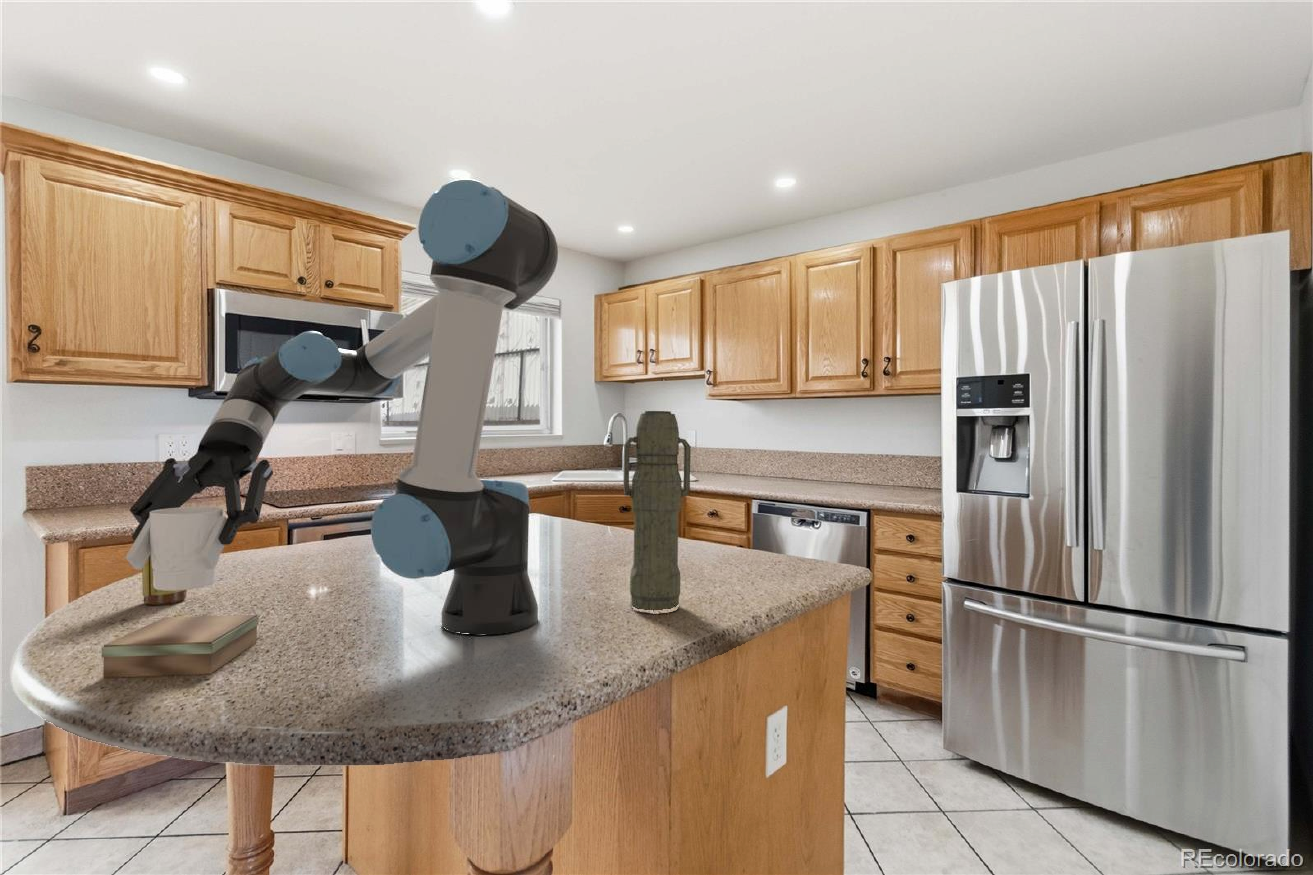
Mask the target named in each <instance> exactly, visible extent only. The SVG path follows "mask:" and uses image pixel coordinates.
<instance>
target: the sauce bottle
mask: <svg viewBox="0 0 1313 875" xmlns="http://www.w3.org/2000/svg"><path fill="white" fill-rule="evenodd" d="M153 570H154V569H153V568H152V560H151V554H150V556H149V557H148V559H147V561H146V563H145V565H144V566H143V568H142V570H141V572H142V573H141V578H142V580H141V581H142V586H141V587H142V596H143V603H144V604H145V605H150V606H161V605H170V604H174V603H178V602H182V601H184V600H185V599H186V598H187V590H179V591H163V590H156V589H155V588H154V586H153Z"/></svg>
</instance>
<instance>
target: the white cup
mask: <svg viewBox="0 0 1313 875" xmlns="http://www.w3.org/2000/svg"><path fill="white" fill-rule="evenodd" d="M149 516H150V546H151V560H152V568H153V569H154V570H153V586H154V588H155V589H156V590H163V591H179V590H194V589H200V588H207V587H209V586H212V585H214V584H216V582H217V581H218V571H219V567H218V563H219V561H220V557H219V558H218V561H217V563H216V565H215V567H214V569H207V568H206V566H205V565H204V563H203V562H202V560H201V559H200V555H201V553H202V551H203V549H204V547H205V545H206V543H207V541H208V538H209V536H210V534H211V532H212V530H213V528H214V526H215V524H216V522H217V521H218V519H219V517H220V516H224V508H222V507H217V506H184V507H182V506H181V507H179V508H167V509H159V510H153V511H150V512H149Z"/></svg>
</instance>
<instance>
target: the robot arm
mask: <svg viewBox="0 0 1313 875" xmlns="http://www.w3.org/2000/svg"><path fill="white" fill-rule="evenodd" d="M417 227H418V228H417V229H418V232H417V233H418V239H419V242H420V243H421V244H422V245H423V246H422V249H423V251H424V253H426V254H427V256H428V257H429V259H430V260H432V261H431V262H432V263H431V268H430V269H431V270H430V274H429V279H430V281H431V283H433V285H434V286H435V289H437V290H438V291H437V292H438V293H437V294H436V295H435V296H432V297H431V298H430V299H429V300H427V301H425V303H423V304H421V305H420V306H418V308H417V307H416V309H414V310H413V311H412V312H410V313H409V314H407V315H406V316H404V317H403V318H402V319H400V320H399V321H397V322H396V323H394V324H393V325H392V326H390V327H388V328H387V329H385V330H384V331H383V332H381V333H380V334H378V335H377V336H376V337H374V338H373V339H371V340H370V341H368V342H367V343H365V344H363V345H362V346H361V347H359V348H358V349H356V350H350V349H344V348H339V347H338V345H337V344H336V343H335V342H334V341H333V340H332V339H331V338H329V337H326V336H324V335H323V333H321V332H319V331H315V330H308V331H304V332H301V333H299V334H298V335H296V336H295V337H292V338H290V339H289V340H287V341H285V342H283V344H282V345H281V346H279V347H278V348H276V349H275V351H273V352H271V354H269V355H268V356H262V357H254V358H252V359H249V361H247V362H246V363H245V365H244V366H243V368H242V369H240V370H239V372H237V374H236V377H235V379H234V381H233V384H232V385H231V388H230V389H229V391H228V392H227V395H226V397H225V398H224V400H223V402H222V404H221V405H220V407H219V408H218V410H217V412H216V413H215V414H214V416H213V418H212V420H211V422H210V423H209V427H208V428H207V429H206V430H205V433H204V434H203V436H202V438H201V440H200V442H199V444H198V447H197V452H196V453H195V454H194V455H193V456H191V457H190V458H189V459H188V460H183V461H177V460H176V459H175V458H173V457H170V458H168V459H166V460H165V462H164V465H163V467H162V470H161V471H160V472H159V474H158V475H156V476H157V477H155V479H153V481H152V482H151V483H150V485H149V486H148V487H147V488H146V490H144V492H143V493H142V494H141V495H140V496H139V497H138V498H137V499H136V501H135V502H134V503H133V504H132V506H131V507H130V508H129V512H130V513H131V515H132V516H133V517H134V518H135V520H136V521H137V522H138V525H137V527H136V529H135V530H134V532H133V534H132V536H131V539H132V540H133V541H134V542H133V544H132V546H131V547H130V549H129V550H128V552H127V554H126V556H125V559H126V560H127V562H128V563H129V564H130V565H131V567H132V568H133V569H134V570H137V571H139V570H140V571H142V568H143V566H144V565H145V563H146V561H147V559H148V557H149V556H150V554H151V546H150V516H149V512H150V511H153V510H159V509H167V508H180V507H182V506H184V504H185V503H186V502H188V501H189V500H190V499H192V497H193V496H195V494H201V492H203V490H205V489H206V488H212V487H218V488H224V496H225V507H226V510H225V511H224V512H225V514H226V515H225V516H224V515H223V516H220V517H219V519H218V521H217V522H216V524H215V526H214V528H213V530H212V532H211V534H210V536H209V538H208V541H207V543H206V545H205V547H204V549H203V551H202V553H201V555H200V559H201V560H202V562H203V563H204V565H205V566H206V568H207V569H214V567H215V565H216V563H217V561H218V558H219V559H220V556H221V554H222V552H223V550H224V548H225V546H226V545H228V546H229V545H232V543H233V542H234V540H235V538H236V535H237V533H238V531H239V528H240V527H242V526H243V525H244V524H247V523H249V524H257V523H258V521H259V520H260V516H261V510H262V506H263V502H264V496H265V492H266V487H267V483H268V482H269V480H270V479H271V477H272V476H273V474H274V471H273V468H272V466H271V464H270V462H269V460H267V459H262V460H260V461H258V462H257V460H258V458H259V456H260V453H261V452H262V450H263V447H264V444H265V442H266V441H267V438H268V437H269V435H270V431H271V430H272V428H273V426H274V425H275V421H276V420H277V418H278V416H279V414H280V411H282V409H283V408H284V407H285V406H287V405H288V404H289V403H291V402H293V401H295V400H296V399H297V398H299V397H300V396H302V395H304V394H305V393H306V392H310V391H311V392H320V393H321V392H322V393H334V394H335V393H336V394H346V395H354V396H355V395H357V396H365V397H371V398H372V397H382V396H383V397H384V396H388V395H390V394H392V393H394V392H395V390H396V389H397V386H398V385H399V384H400V381H401V375H403V374H404V373H405V372H407V371H409V370H410V369H412V368H413V367H415V366H416V365H419V364H420V363H421V362H423V361H424V360H426V359H428V362H427V368H426V376H425V378H424V379H425V380H424V386H423V393H422V400H421V406H420V412H419V416H418V422H417V423H418V424H417V429H416V435H415V436H416V437H415V440H414V441H415V443H414V447H413V448H414V449H413V455H412V459H411V460H412V461H411V464H410V465H409V466H408V467H406V468H404V469H403V470H401V472H399V473H398V474H397V480H396V481H397V482H396V485H395V486H396V487H395V492H394V494H393V495H389V496H387V497H386V498H384V499H383V500H382V502H381V503H379V504H378V505H377V506H376V508H375V509H374V511H373V514H372V517H371V523H370V534H371V541H372V544H373V547H374V550H375V552H376V554H377V555H378V556H379V557H380V559H381V562H382V563H383V565H384V566H385V567H386V568H388V570H389V571H391V572H393V573H394V574H395V575H398V576H399V577H402V578H404V579H413V580H414V579H415V580H416V579H422V578H432V577H433V578H435V577H436V576H437V577H438V576H440V575H442V574H443V573H446V572H451V571H453V578H452V580H451V584H450V586H449V588H448V592H447V595H446V598H445V601H444V603H443V607H442V608H441V609H442V610H441V623H442V625H441V627H442V626H443V627H445V628H446V629H448V630H450V631H453V632H460V633H469V634H489V635H488V636H491V635H490V634H497V635H503V634H502V633H505V634H509V633H508V632H511V633H516V632H518V630H519V631H522V630H521V629H523V628H526V627H528V628H530V627H532V626H534V625H535V624H537V622H538V621H537V620H538V619H539V605H538V602H537V598H536V595H535V593H534V589H533V586H532V582H531V580H530V576H529V572H528V570H529V568H528V566H529V564H528V563H529V561H528V560H529V530H530V529H529V524H530V522H529V521H530V509H531V507H530V506H531V505H530V503H529V502H530V499H529V490H528V486H526V485H525V484H524V483H522V482H519V481H511V480H500V479H499V480H497V479H486V478H484V479H483V478H479V477H478V476H477V474H476V470H477V464H478V457H479V452H480V447H481V446H480V445H481V439H482V435H483V434H482V432H483V428H484V422H485V415H486V409H487V404H488V398H489V393H490V386H491V379H492V374H493V368H494V363H495V358H496V357H495V355H496V350H497V344H498V339H499V335H500V334H499V333H500V326H501V320H502V314H503V309H504V310H507V311H513V310H515V309H516V308H518V307H520V306H522V305H523V304H525V303H526V302H527V301H529V300H530V299H532V298H533V297H535V296H536V295H537V294H539V292H541V291H542V289H544V287H545V286H546V285H547V284H548V283H549V281H551V278H552V276H553V274H554V273H555V270H556V267H557V264H558V258H559V257H558V256H559V249H558V242H557V239H556V237H555V234H554V232H553V230H552V228H551V227H550V225H549V224H548V223H547V222H546V221H545V220H544V219H543V218H542V217H540V216H539V215H538V214H537V213H535V212H533V211H530V210H528V209H527V208H526V207H524V206H522V205H521V204H519V203H518V202H516V201H515V200H513V199H511V198H510V197H508V196H506V195H504V194H503V192H502V191H501V190H499V189H497V188H495V187H494V186H490V185H487V184H485V183H483V182H481V181H479V180H475V179H472V178H460V179H459V178H458V179H455V180H452V181H450V182H447V183H445V184H444V185H442V186H441V188H440V189H439V190H438V191H435V192H433V194H431V196H430V197H429V199H428V200H426V203H425V204H424V206H423V208H422V211H421V214H420V217H419V221H418V226H417ZM249 474H251V476H250V479H249V480H250V482H249V485H248V489H247V493H246V497H245V501H244V505H243V508H242V501H241V500H242V499H241V493H240V492H241V483H240V480H242V479H243V478H244V477H246V476H248V475H249ZM180 479H181V480H180ZM226 516H227V517H226ZM218 562H219V561H218ZM534 623H535V624H534ZM533 624H534V625H533ZM531 625H532V626H531ZM443 627H442V628H443ZM526 629H527V628H526ZM523 630H524V629H523ZM450 631H449V632H450ZM453 632H452V633H453Z"/></svg>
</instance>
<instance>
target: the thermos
mask: <svg viewBox="0 0 1313 875" xmlns="http://www.w3.org/2000/svg"><path fill="white" fill-rule="evenodd" d="M678 425H679V424H678V420H677V417H676V414H675V413H672V411H667V410H665V411H664V410H646V411H644V413H640V416H639V419H638V422H637V424H636V432H635V436H633V437H629V438H628V439H627V440H626V441H625V443H624V444H623V494H624V495H625V496H629V497H630V498H631V509H632V512H633V517H634V518H633V565H632V567H631V572H630V578H629V582H630V583H629V586H630V587H629V594H630V596H631V597H630V598H631V600H630V601H631V602H630V605H631V604H632V606H633V607H635V608H637V609H644V610H653V611H654V610H663V609H671V608H673V607H676V606H677V605H678V604H679V605H680V602H679V600H680V595H681V571H680V569H679V566H678V562H679V561H678V560H679V559H678V556H679V555H678V554H679V553H678V552H679V514H680V512H681V509H682V499H683V498H685V497H686V496H687V495H688V494H689V493H690V492H691V452H692V450H691V448H692V446H691V445H690V444H689V442H688V441H687V440H686V439H685V438H681V437H679V436H680V431H679V426H678ZM631 443H635V455H636V462H635V470H634V474H633V477H632V478H631V479H632V480H631V488H630V446H631ZM679 444H682V446H683V481H682V477H681V474H680V470H679V463H678V456H679V455H680V454H679V451H680V449H679V446H680V445H679ZM682 482H683V485H682ZM682 486H683V487H682ZM682 488H683V489H682Z"/></svg>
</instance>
